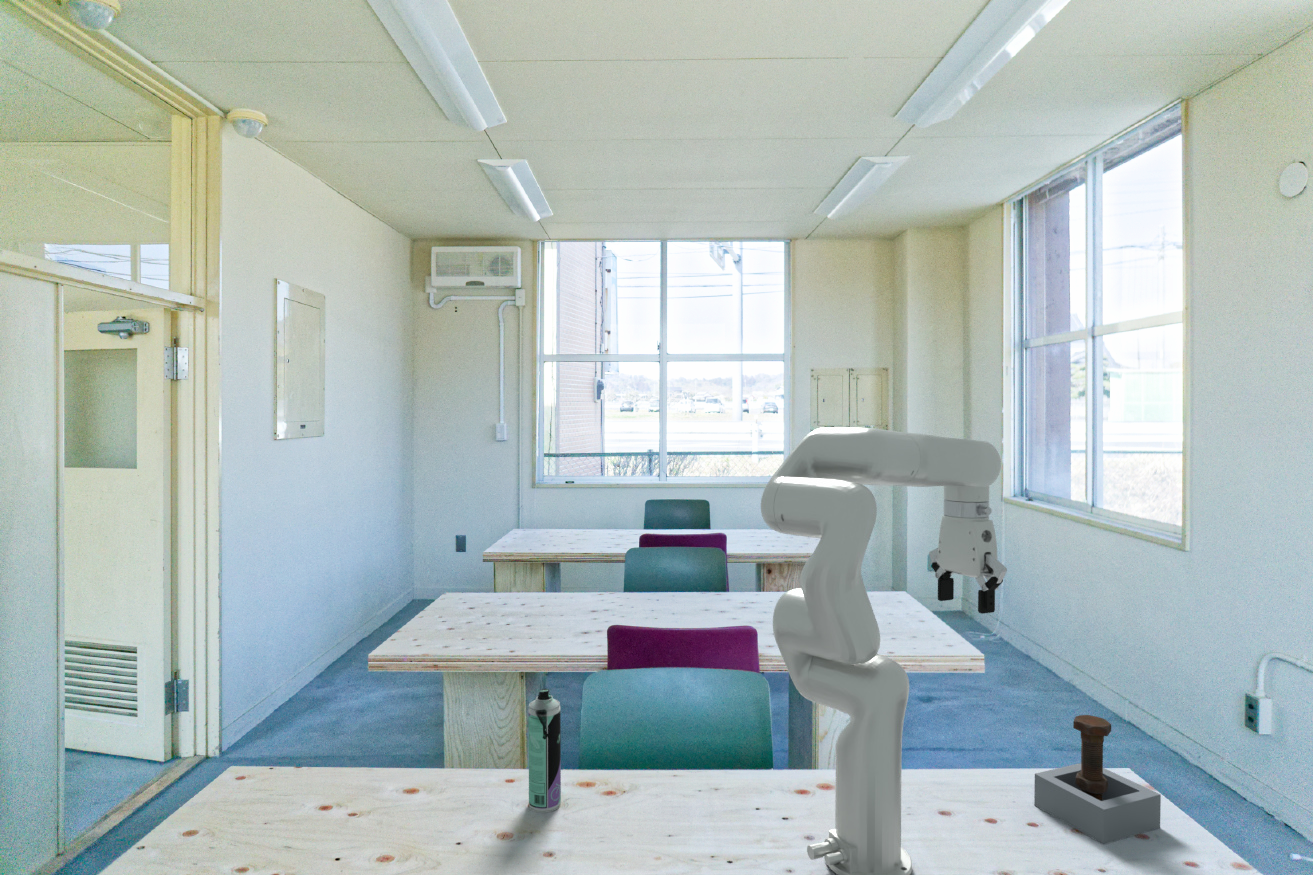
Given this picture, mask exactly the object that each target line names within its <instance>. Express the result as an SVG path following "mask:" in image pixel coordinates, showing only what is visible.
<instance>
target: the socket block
mask: <svg viewBox="0 0 1313 875" xmlns="http://www.w3.org/2000/svg"><path fill="white" fill-rule="evenodd" d="M1078 772H1081V762H1080V763H1075V764H1070V765H1067V766H1062V767H1058V768H1053V769H1049V770H1045V771H1040V772H1036V773H1034V800H1033V802H1034V806H1036V807H1037V808H1039V809H1040V810H1042V811H1044V812H1045V813H1048V814H1050V815H1051V816H1053V817H1054V818H1056V819H1058V820H1060V821H1062V822H1063V823H1065V824H1067V825H1069V826H1070V827H1071V828H1074V829H1075V830H1078V831H1079V832H1081V833H1082V834H1084V835H1086V836H1088V837H1090V838H1092V839H1094V840H1096V841H1097V842H1099V843H1100V844H1103V845H1106V844H1109V843H1113V842H1117V841H1120V840H1123V839H1127V838H1131V837H1133V836H1136V835H1140V834H1144V833H1148V832H1150V831H1155V830H1158V829H1161V803H1162V802H1161V801H1162V800H1161V794H1160V793H1158V792H1156V791H1154V790H1152V789H1150V788H1148V787H1145V786H1143V785H1141V784H1139V783H1137V782H1135V781H1133V780H1130V779H1128V778H1126V777H1124V776H1122V775H1120V774H1117V773H1115V772H1113V771H1111V770H1109V769H1107V768H1104V767H1103V776H1104V777H1105V778H1106V779H1107V780H1108V788H1107V791H1106V792H1105V793H1103V794H1102V801H1100V800H1098V799H1096V798H1094V797H1092V796H1090V795H1088V794H1086V793H1084V792H1082V791H1081V789H1080V788H1079V787H1078V786H1077V785H1076V784H1075V780H1076V775H1077V773H1078Z"/></svg>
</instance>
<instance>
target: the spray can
mask: <svg viewBox="0 0 1313 875" xmlns="http://www.w3.org/2000/svg"><path fill="white" fill-rule="evenodd" d="M550 693H551V692H550V689H549V688H541V689H540V691H539V693H538V695H537V696H536V698H535V699H534V700H533V701H531V702H530V703H529V704H528V712H527V713H528V807H529V809H530V810H531V811H533V812H535V813H540V814H541V813H543V814H544V813H545V814H546V813H551V812H553V811H555V810H557V809H559V808H560V807H561V803H562V782H561V781H562V778H561V776H562V774H561V773H562V769H561V768H562V767H561V766H562V765H561V763H562V761H561V760H562V758H561V752H562V751H561V749H562V748H561V747H562V746H561V745H562V744H561V739H562V738H561V736H562V734H561V733H562V732H561V724H562V723H561V702H560V701H559V700H558V699H555V698H553V695H551V694H550Z"/></svg>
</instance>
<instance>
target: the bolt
mask: <svg viewBox="0 0 1313 875" xmlns="http://www.w3.org/2000/svg"><path fill="white" fill-rule="evenodd" d="M1072 724H1073V725H1072V726H1073V729H1075V730H1077V731H1080V739H1081V746H1080V758H1081V759H1080V763H1081V772H1078V773H1077V775H1076V780H1075V784H1076V785H1077V786H1078V787H1079V788H1080V789H1081V791H1082V792H1084V793H1086V794H1088V795H1090V796H1092V797H1094V798H1096V799H1098V800H1100V801H1102V794H1103V793H1105V792H1106V791H1107V788H1108V780H1107V779H1106V778H1105V777H1104V776H1103V768H1104V767H1103V766H1104V765H1103V764H1104V763H1103V762H1104V755H1103V754H1104V741H1105V737H1108V736H1109V735H1110V733H1111V732H1112V723H1111V722H1110V721H1108V720H1107V719H1106V718H1103V717H1099V716H1095V715H1092V714H1091V715H1090V714H1080V715H1075V717H1074V720H1073V723H1072Z"/></svg>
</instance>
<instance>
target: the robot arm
mask: <svg viewBox="0 0 1313 875" xmlns="http://www.w3.org/2000/svg"><path fill="white" fill-rule="evenodd" d="M1001 469H1002V461H1001V455H1000V453H999V451H998V449H997V448H996V446H994V445H993V444H992V443H991V442H989V441H983V440H977V439H976V440H975V439H968V438H957V437H945V436H937V435H934V434H933V435H932V434H923V433H915V432H905V431H896V430H889V429H882V428H874V427H836V426H835V427H832V426H831V427H826V426H825V427H823V426H822V427H819V428H816V429H814V430H812V431H811V432H809V433H807V434H806V435H805V436H804V437H803V438H802V439H801V440H800V441H799V442H798V443H797V444H796V445H795V447H794V448H793V449H792V450H791V451H790V453H789V454H788V456H787V457H786V458H785V459H784V461H783V462H782V463H781V465H780V466H779V467H778V468H777V470H776V471H775V472H774V474H773V475H772V476H771V478H770V479H769V481H768V482H767V484H766V485H765V487H764V490H763V492H762V495H761V498H760V513H761V516H762V519H763V521H764V523H765V525H767V526H768V527H769V528H770V529H772V530H773V531H775V532H777V533H780V534H785V535H791V536H798V537H805V538H813V539H819V542H818V543H817V545H816V547H815V548H814V551H813V553H812V554H811V555H810V556H809V558H808V559H807V560H806V562H805V564H804V565H803V568H802V570H801V571H800V577H799V578H800V579H799V580H800V581H799V582H800V587H797V588H793V589H789V590H787V591H785V593H783V594H782V595H780V597H779V599H778V600H777V601H776V604H775V606H774V609H773V615H772V631H773V635H774V636H773V637H774V639H775V642H776V645H777V648H778V651H779V653H780V655H781V657H782V658H781V659H782V660H783V662H784V664H785V666H786V669H787V671H788V674H789V676H790V678H791V680H792V683H793V685H794V687H795V689H796V690H797V692H798V693H799V694H800V695H801V696H802V697H804V698H805V699H806V700H808V701H810V702H812V703H815V704H818V705H821V706H824V707H827V708H831V709H834V710H837V711H839V712H842V713H844V714H847V715H848V716H849V717H850V718H849V722H848V724H846V725H845V727H844V728H843V729H842V730H841V731H840V733H839V734H838V735H837V739H836V743H835V754H834V756H835V792H834V793H835V798H834V799H835V801H834V802H835V809H834V812H835V813H834V814H835V815H834V817H835V818H834V820H835V821H834V824H835V827H834V829H830V830H828V838H826V839H824V842H818V843H813V844H808V845H807V847H806V853H807V855H808V857H809V859H810V860H812V861H813V860H814V861H815V860H817V859H822V858H824V862H825V864H826V866H828V867H829V869H830V870H832V872H834V874H836V875H911V874H912V871H913V864H912V863H913V862H912V858H911V855H909V853H908V852H907V850H905V849H904V848H903V847H902V773H903V772H902V771H903V770H902V751H903V750H902V749H903V747H902V744H903V731H904V730H903V729H904V722H905V715H906V710H907V706H908V700H909V695H910V678H909V676H908V673H907V672H906V670H905V669H904V668H903V666H902V665H901V664H900V663H898V662H897V661H896V660H894V659H892V658H890V657H888V656H885V655H883V654H880V653H879V650H880V647H881V632H880V628H879V624H878V622H877V619H876V618H877V617H876V616H875V615H876V614H875V613H874V609H873V607H872V604H871V601H870V599H869V595H868V592H867V589H866V587H865V584H864V580H863V576H862V566H863V562H864V557H865V554H866V553H867V552H866V551H867V548H868V545H869V542H870V540H871V536H872V533H873V531H874V527H875V525H876V521H877V513H878V512H877V511H878V510H877V509H878V508H877V502H876V498H875V495H874V493H873V492H872V491H871V490H870V488H868V487H867V486H891V487H892V486H893V487H911V488H913V487H915V488H916V487H917V488H924V487H925V488H928V487H943V516H942V517H941V520H940V527H939V533H938V535H939V536H938V547H936V548H935V549H933V550H931V551H929V553H928V556H929V559H930V561H931V562H930V563H931V567H932V570H933V571H934V572H935V573H934V576H935V579H937V600H938V601H939V602H943V601H944V602H945V601H952V600H954V597H955V596H954V591H955V589H954V588H955V587H954V584H955V582H954V577H952V575H953V574H958V575H962V576H966V577H970V578H975V580H976V581H977V583H978V586H979V587H980V589H979V590H978V592H977V611H978V613H979V614H990V613H992V614H993V613H994V612H995V610H996V590H997V591H998V590H999V586H1001V585H1002V583H1003V581H1004V578H1005V576H1006V574H1007V572H1008V569H1007V567H1006V566H1005V565H1004V564H1003V563H1002V562H1000V561H999V560H998V559H999V558H998V546H997V545H998V544H997V535H996V531H995V525H994V521H993V520H992V519H990V515H991V514H992V512H993V511H992V510H993V509H992V508H991V507H990V486H991V485H992V484H993V483H995V482H996V480H997V479H998V478H999V476H1000V472H1001Z"/></svg>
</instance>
